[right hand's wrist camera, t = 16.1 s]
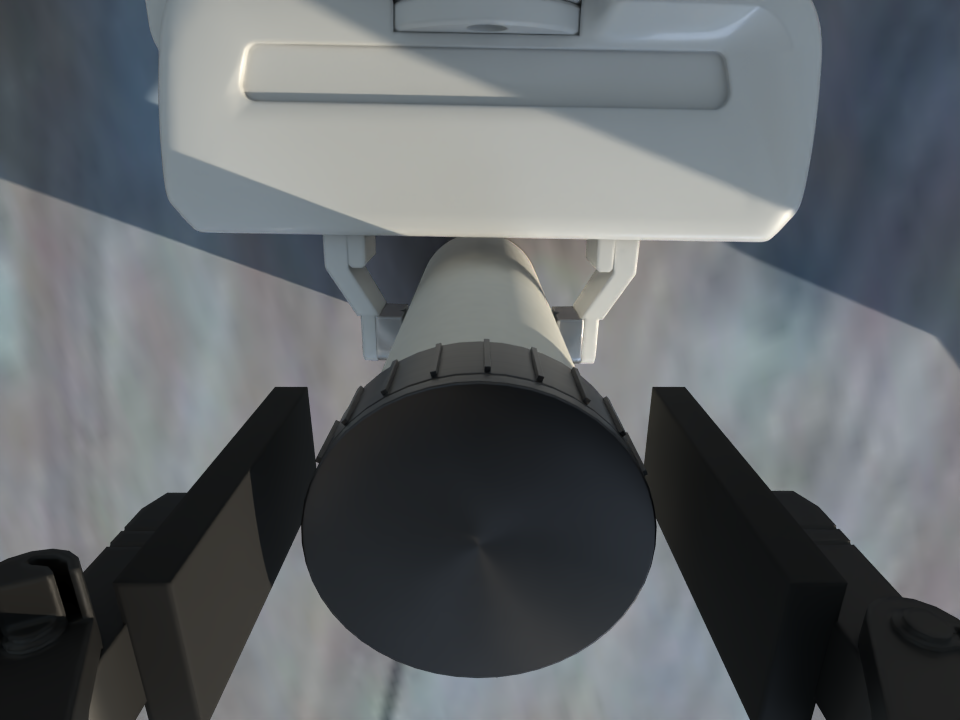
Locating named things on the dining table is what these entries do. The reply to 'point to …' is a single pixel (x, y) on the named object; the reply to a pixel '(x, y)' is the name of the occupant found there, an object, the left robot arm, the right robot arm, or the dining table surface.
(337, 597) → the lid
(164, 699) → the right robot arm
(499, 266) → the white cylindrical tube
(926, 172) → the dining table surface
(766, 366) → the dining table surface
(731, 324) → the dining table surface
